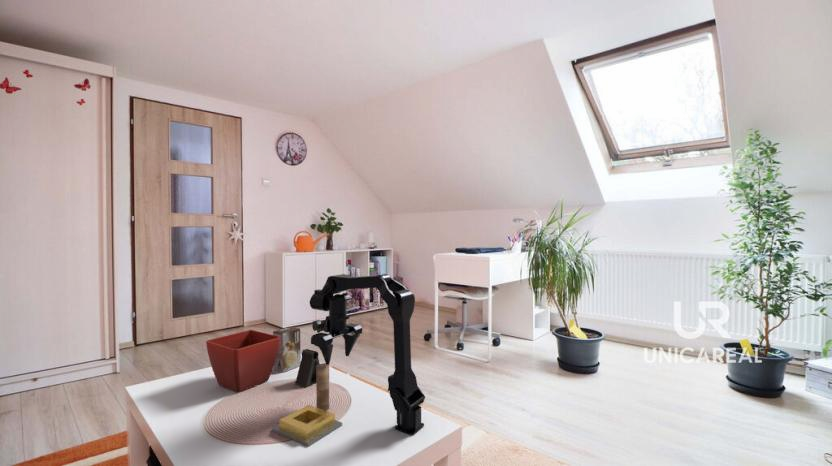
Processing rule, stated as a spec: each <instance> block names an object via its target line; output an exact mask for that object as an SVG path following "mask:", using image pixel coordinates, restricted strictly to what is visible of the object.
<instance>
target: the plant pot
mask: <svg viewBox="0 0 832 466" xmlns="http://www.w3.org/2000/svg"><path fill="white" fill-rule="evenodd" d="M279 343H280V337H279V336H275V335H273V334H269V333H266V332H262V331H258V330H254V329H247V330H245V331H240V332H236V333H232V334H227V335H223V336H218V337H216V338H210V339H207V340H205V344H206V350H207V354H208V359H209V362H210V365H211V366H210V367H211V368H212V372H213V374H214V377H215V380H216V381H217V384H218V385H219V386H220V387H224V388H226V389H228V390H231V391H233V392H235V393H240V392H244V391H246V390H249V389H251V388H254V387H257V386H259V385H261V384H264V383H267V382H268V381H269V379H270V377H271V374H272V371H273V370H274V363H275V360H276V356H277V352H278V348H279Z"/></svg>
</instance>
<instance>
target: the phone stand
mask: <svg viewBox="0 0 832 466" xmlns="http://www.w3.org/2000/svg"><path fill="white" fill-rule="evenodd" d="M318 364H321V362H320V358H319V352H318V351H315V350H313V349H312V350H311V349H307V348H304V349H302V350H301V363H300V366H299V367H298V372H297V375H296V379H295V383H294V384H295V385H298V386H301V387H304V388H306V387H307V388H308V386H309V387H311V386H314V385H315V384H316V366H317V365H318ZM313 384H314V385H313Z"/></svg>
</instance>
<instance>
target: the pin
mask: <svg viewBox="0 0 832 466" xmlns="http://www.w3.org/2000/svg"><path fill="white" fill-rule="evenodd" d="M315 384H316V397H315V398H316V400H315V401H316V408H319V409H322V410H325V411H329V410H330V363H329V364H326V362H324V363H320V364H318V365H317V366H316V383H315Z"/></svg>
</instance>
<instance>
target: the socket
mask: <svg viewBox="0 0 832 466" xmlns="http://www.w3.org/2000/svg"><path fill="white" fill-rule="evenodd" d="M342 426H343V422H341V421H338V420H336V414H335V413H334V412H330V411H329V410H327V411H325V410H322V409H319V408H317V406H316V407H315V406H313V405H310V404H308V405H306V406H304V407H302V408H300V409H298V410H296V411H294V412H292V413H290V414H288V415H286V416H284V417H282V418H280V419H279V423H278V424H277V425H275V426H273V427H271V432H274V433H275V434H279V436H280V435H281V436H283V437H285V438H287V439H290V440H292V441H295V442H296V443H299V444H302V445H303V446H305V447H311V446H312V445H314V444H315V443H317V442H318V441H320V440H322V439H323V438H325V437H326V436H328V435H329V434H331V433H333V432H334V431H336V430H337V429H339V428H340V427H342Z"/></svg>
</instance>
